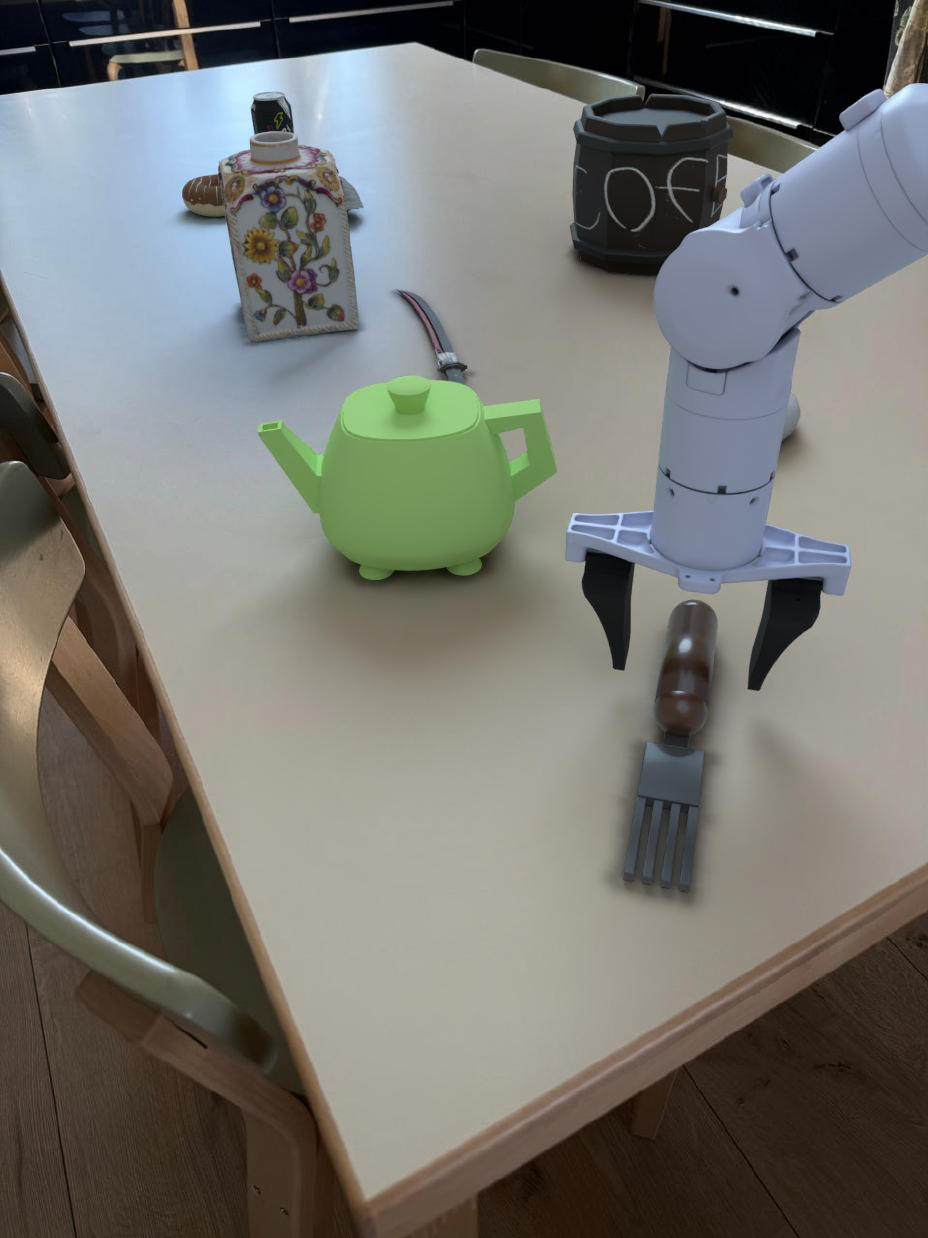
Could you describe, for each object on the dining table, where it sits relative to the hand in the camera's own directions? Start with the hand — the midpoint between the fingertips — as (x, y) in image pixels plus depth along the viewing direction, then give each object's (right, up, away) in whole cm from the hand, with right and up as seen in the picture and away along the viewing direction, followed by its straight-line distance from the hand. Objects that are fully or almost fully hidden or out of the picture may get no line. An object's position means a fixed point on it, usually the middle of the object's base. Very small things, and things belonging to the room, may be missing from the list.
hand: (686, 668), depth 57 cm
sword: (-17, +31, +42) cm, 54 cm away
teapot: (-16, +8, +15) cm, 23 cm away
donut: (+10, +19, +27) cm, 34 cm away
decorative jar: (-31, +35, +49) cm, 68 cm away
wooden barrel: (+9, +47, +61) cm, 77 cm away
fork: (-1, -4, -2) cm, 4 cm away
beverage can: (-40, +68, +89) cm, 119 cm away
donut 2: (-47, +60, +80) cm, 111 cm away
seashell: (-31, +57, +76) cm, 100 cm away
